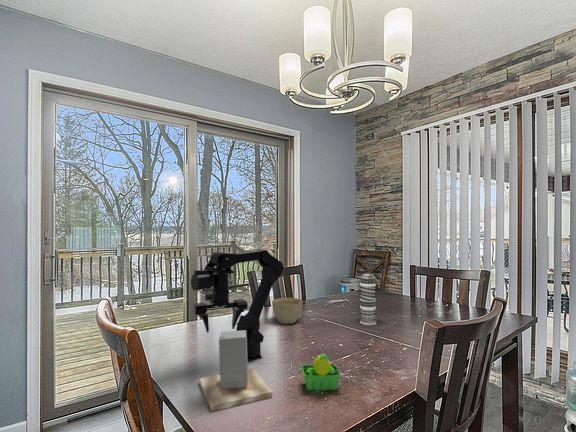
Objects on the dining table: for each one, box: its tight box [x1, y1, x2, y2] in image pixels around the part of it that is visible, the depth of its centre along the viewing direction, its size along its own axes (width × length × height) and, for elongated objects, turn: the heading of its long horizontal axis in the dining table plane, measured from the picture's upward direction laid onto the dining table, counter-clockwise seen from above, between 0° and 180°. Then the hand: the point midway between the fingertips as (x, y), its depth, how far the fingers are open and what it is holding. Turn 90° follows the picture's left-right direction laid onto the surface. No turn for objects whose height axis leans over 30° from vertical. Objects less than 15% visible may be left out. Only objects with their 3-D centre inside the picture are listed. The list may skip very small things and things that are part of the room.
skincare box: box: [218, 330, 249, 389], centre depth 102 cm, size 8×7×16 cm
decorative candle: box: [358, 273, 378, 326], centre depth 172 cm, size 9×9×25 cm
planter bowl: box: [271, 297, 303, 325], centre depth 174 cm, size 16×16×11 cm
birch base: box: [199, 367, 273, 412], centre depth 102 cm, size 18×18×2 cm
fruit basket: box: [301, 353, 341, 391], centre depth 104 cm, size 11×9×11 cm
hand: (220, 330), depth 119 cm, fingers open, 9 cm apart
